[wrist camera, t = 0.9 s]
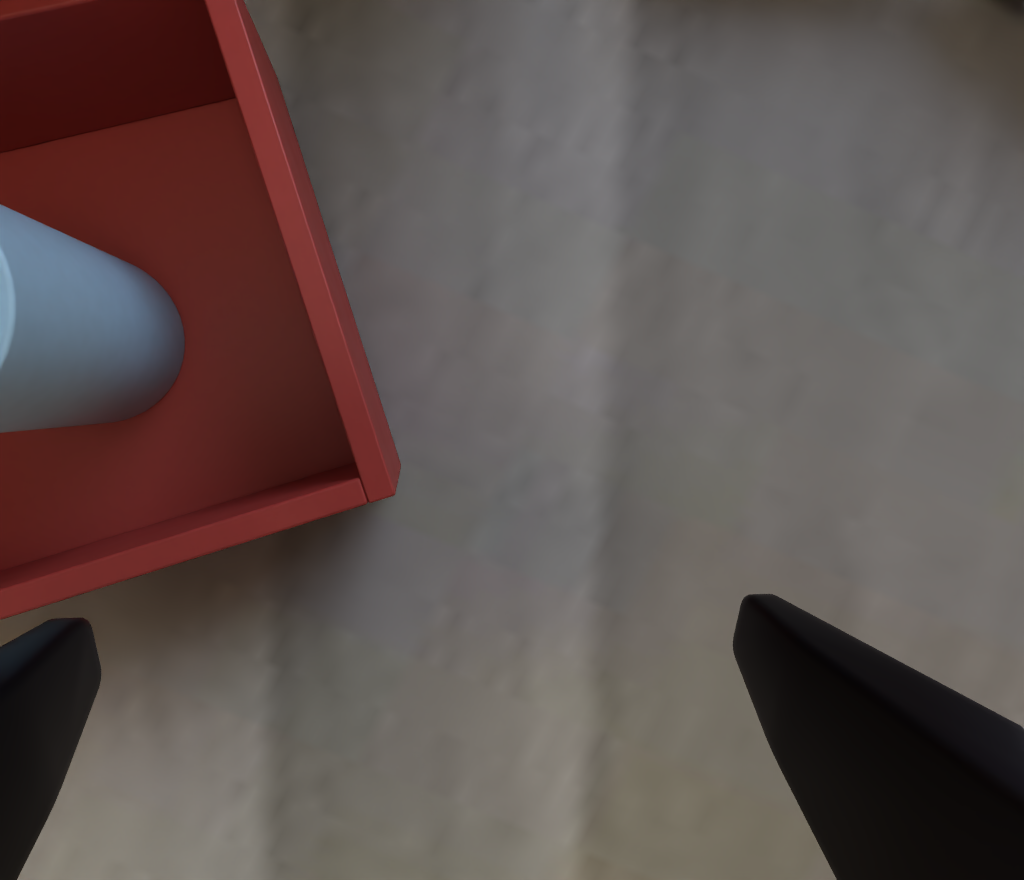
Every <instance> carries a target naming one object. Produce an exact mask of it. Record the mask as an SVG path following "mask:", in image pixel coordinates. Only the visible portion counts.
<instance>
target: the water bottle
mask: <svg viewBox="0 0 1024 880" xmlns="http://www.w3.org/2000/svg"><path fill="white" fill-rule="evenodd" d="M184 350H185V337H184V330H183V325H182V321H181V318H180V315H179V313H178V310H177V308H176V306H175V304H174V303H173V301H172V299H171V297H170V296H169V295H168V293H167V292H166V291H165V289H164V288H163V287H162V286H161V285H160V284H159V283H158V282H157V281H156V280H155V279H154V278H152V277H151V276H150V275H149V274H147V273H146V272H145V271H143V270H141V269H140V268H138V267H136V266H134V265H132V264H130V263H128V262H126V261H123V260H121V259H119V258H117V257H115V256H112V255H110V254H108V253H106V252H104V251H101V250H99V249H97V248H95V247H93V246H91V245H88V244H86V243H84V242H82V241H80V240H77V239H75V238H73V237H71V236H69V235H66V234H64V233H62V232H60V231H58V230H56V229H53V228H51V227H49V226H47V225H45V224H42V223H40V222H38V221H36V220H34V219H31V218H29V217H27V216H25V215H23V214H20V213H18V212H16V211H14V210H12V209H10V208H7V207H5V206H3V205H1V204H0V433H4V432H15V431H26V430H36V429H47V428H58V427H69V426H80V425H90V424H101V423H112V422H118V421H122V420H126V419H129V418H132V417H134V416H137V415H139V414H141V413H143V412H145V411H146V410H148V409H149V408H151V407H152V406H154V405H155V404H156V403H157V402H158V401H159V400H161V399H162V398H163V397H164V396H165V394H166V393H167V392H168V391H169V390H170V388H171V387H172V385H173V383H174V382H175V380H176V378H177V376H178V374H179V372H180V369H181V365H182V362H183V357H184Z"/></svg>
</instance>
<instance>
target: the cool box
mask: <svg viewBox="0 0 1024 880" xmlns="http://www.w3.org/2000/svg"><path fill="white" fill-rule="evenodd" d="M0 204H1V205H3V206H5V207H7V208H10V209H12V210H14V211H16V212H18V213H20V214H23V215H25V216H27V217H29V218H31V219H34V220H36V221H38V222H40V223H42V224H45V225H47V226H49V227H51V228H53V229H56V230H58V231H60V232H62V233H64V234H66V235H69V236H71V237H73V238H75V239H77V240H80V241H82V242H84V243H86V244H88V245H91V246H93V247H95V248H97V249H99V250H101V251H104V252H106V253H108V254H110V255H112V256H115V257H117V258H119V259H121V260H123V261H126V262H128V263H130V264H132V265H134V266H136V267H138V268H140V269H141V270H143V271H145V272H146V273H147V274H149V275H150V276H151V277H152V278H154V279H155V280H156V281H157V282H158V283H159V284H160V285H161V286H162V287H163V288H164V289H165V291H166V292H167V293H168V295H169V296H170V297H171V299H172V301H173V303H174V304H175V306H176V308H177V310H178V313H179V315H180V318H181V321H182V325H183V330H184V337H185V350H184V357H183V362H182V365H181V369H180V372H179V374H178V376H177V378H176V380H175V382H174V383H173V385H172V387H171V388H170V390H169V391H168V392H167V393H166V394H165V396H164V397H163V398H162V399H161V400H159V401H158V402H157V403H156V404H155V405H154V406H152V407H151V408H149V409H148V410H146V411H145V412H143V413H141V414H139V415H137V416H134V417H132V418H129V419H126V420H122V421H118V422H112V423H101V424H90V425H80V426H69V427H58V428H47V429H36V430H26V431H15V432H4V433H0V620H2V619H5V618H8V617H11V616H14V615H17V614H21V613H24V612H27V611H30V610H33V609H36V608H40V607H43V606H46V605H49V604H52V603H55V602H59V601H62V600H65V599H68V598H71V597H74V596H78V595H81V594H84V593H87V592H90V591H93V590H96V589H100V588H103V587H106V586H109V585H112V584H115V583H119V582H122V581H125V580H128V579H131V578H134V577H138V576H141V575H144V574H147V573H150V572H153V571H157V570H160V569H163V568H166V567H169V566H172V565H176V564H179V563H182V562H185V561H188V560H191V559H195V558H198V557H201V556H204V555H207V554H210V553H214V552H217V551H220V550H223V549H226V548H229V547H232V546H236V545H239V544H242V543H245V542H248V541H251V540H255V539H258V538H261V537H264V536H267V535H270V534H274V533H277V532H280V531H283V530H286V529H289V528H293V527H296V526H299V525H302V524H305V523H308V522H312V521H315V520H318V519H321V518H324V517H327V516H331V515H334V514H337V513H340V512H343V511H346V510H350V509H353V508H356V507H359V506H362V505H365V504H367V503H368V502H369V503H372V502H375V501H378V500H382V499H385V498H388V497H391V496H394V495H395V492H396V487H397V483H398V478H399V473H400V468H401V464H400V461H399V457H398V454H397V451H396V448H395V445H394V442H393V439H392V436H391V432H390V429H389V426H388V423H387V420H386V417H385V414H384V410H383V407H382V404H381V401H380V398H379V395H378V392H377V389H376V385H375V382H374V379H373V376H372V373H371V370H370V367H369V363H368V360H367V357H366V354H365V351H364V348H363V345H362V342H361V338H360V335H359V332H358V329H357V326H356V323H355V320H354V317H353V313H352V310H351V307H350V304H349V301H348V298H347V295H346V291H345V288H344V285H343V282H342V279H341V276H340V273H339V270H338V266H337V263H336V260H335V257H334V254H333V251H332V248H331V244H330V241H329V238H328V235H327V232H326V229H325V226H324V223H323V219H322V216H321V213H320V210H319V207H318V204H317V201H316V197H315V194H314V191H313V188H312V185H311V182H310V179H309V176H308V172H307V169H306V166H305V163H304V160H303V157H302V154H301V150H300V147H299V144H298V141H297V138H296V135H295V132H294V129H293V125H292V122H291V119H290V116H289V113H288V110H287V107H286V103H285V100H284V97H283V94H282V91H281V88H280V85H279V82H278V78H277V76H276V74H275V71H274V70H273V67H272V64H271V62H270V60H269V58H268V55H267V53H266V51H265V48H264V46H263V44H262V42H261V39H260V37H259V35H258V33H257V30H256V28H255V26H254V23H253V21H252V19H251V17H250V14H249V12H248V10H247V7H246V5H245V3H244V1H243V0H0Z"/></svg>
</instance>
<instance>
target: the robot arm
mask: <svg viewBox="0 0 1024 880" xmlns="http://www.w3.org/2000/svg"><path fill="white" fill-rule="evenodd" d="M733 651H734V655H735V658H736V661H737V663H738V666H739V669H740V671H741V674H742V676H743V679H744V682H745V684H746V687H747V689H748V692H749V695H750V697H751V700H752V702H753V705H754V707H755V710H756V713H757V715H758V718H759V720H760V723H761V726H762V728H763V731H764V733H765V736H766V738H767V741H768V743H769V745H770V748H771V750H772V752H773V754H774V756H775V759H776V761H777V763H778V765H779V767H780V769H781V771H782V773H783V775H784V777H785V779H786V781H787V783H788V785H789V787H790V788H791V790H792V792H793V794H794V796H795V798H796V800H797V802H798V804H799V806H800V808H801V810H802V812H803V814H804V816H805V818H806V820H807V822H808V824H809V826H810V828H811V830H812V832H813V834H814V836H815V838H816V840H817V842H818V844H819V846H820V848H821V850H822V851H823V853H824V855H825V857H826V859H827V861H828V863H829V865H830V867H831V869H832V871H833V873H834V875H835V877H836V879H837V880H1024V729H1023V727H1021V726H1020V725H1018V724H1016V723H1014V722H1012V721H1011V720H1009V719H1007V718H1005V717H1003V716H1001V715H999V714H997V713H995V712H994V711H992V710H990V709H988V708H986V707H984V706H982V705H980V704H979V703H977V702H975V701H973V700H971V699H969V698H967V697H965V696H963V695H962V694H960V693H958V692H956V691H954V690H952V689H950V688H948V687H947V686H945V685H943V684H941V683H939V682H937V681H935V680H933V679H932V678H930V677H928V676H926V675H924V674H922V673H920V672H918V671H916V670H915V669H913V668H911V667H909V666H907V665H905V664H903V663H901V662H900V661H898V660H896V659H894V658H892V657H890V656H888V655H886V654H885V653H883V652H881V651H879V650H877V649H875V648H873V647H871V646H870V645H868V644H866V643H864V642H862V641H860V640H858V639H856V638H855V637H853V636H851V635H849V634H847V633H845V632H843V631H841V630H840V629H838V628H836V627H834V626H832V625H830V624H828V623H826V622H824V621H823V620H821V619H819V618H817V617H815V616H813V615H811V614H809V613H808V612H806V611H804V610H802V609H800V608H798V607H796V606H794V605H793V604H791V603H789V602H787V601H785V600H783V599H781V598H779V597H778V596H776V595H773V594H753V595H747V596H746V597H744V599H743V600H742V603H741V606H740V611H739V615H738V620H737V624H736V628H735V633H734V637H733ZM100 681H101V665H100V661H99V656H98V652H97V648H96V643H95V639H94V635H93V630H92V627H91V624H90V623H89V621H88V620H86V619H84V618H58V619H51V620H48V621H46V622H44V623H42V624H41V625H39V626H37V627H35V628H33V629H32V630H30V631H28V632H26V633H25V634H23V635H21V636H19V637H17V638H16V639H14V640H12V641H10V642H8V643H7V644H5V645H3V646H1V647H0V880H17V878H18V876H19V874H20V872H21V870H22V868H23V866H24V864H25V862H26V860H27V858H28V856H29V854H30V852H31V850H32V848H33V846H34V844H35V842H36V840H37V838H38V836H39V834H40V832H41V830H42V828H43V826H44V824H45V822H46V820H47V818H48V816H49V814H50V812H51V810H52V808H53V806H54V803H55V801H56V799H57V796H58V794H59V792H60V789H61V787H62V784H63V782H64V779H65V776H66V774H67V771H68V768H69V766H70V763H71V760H72V758H73V755H74V753H75V750H76V747H77V745H78V742H79V739H80V737H81V734H82V731H83V729H84V726H85V723H86V721H87V718H88V715H89V713H90V710H91V707H92V705H93V702H94V699H95V697H96V694H97V691H98V689H99V686H100Z"/></svg>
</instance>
